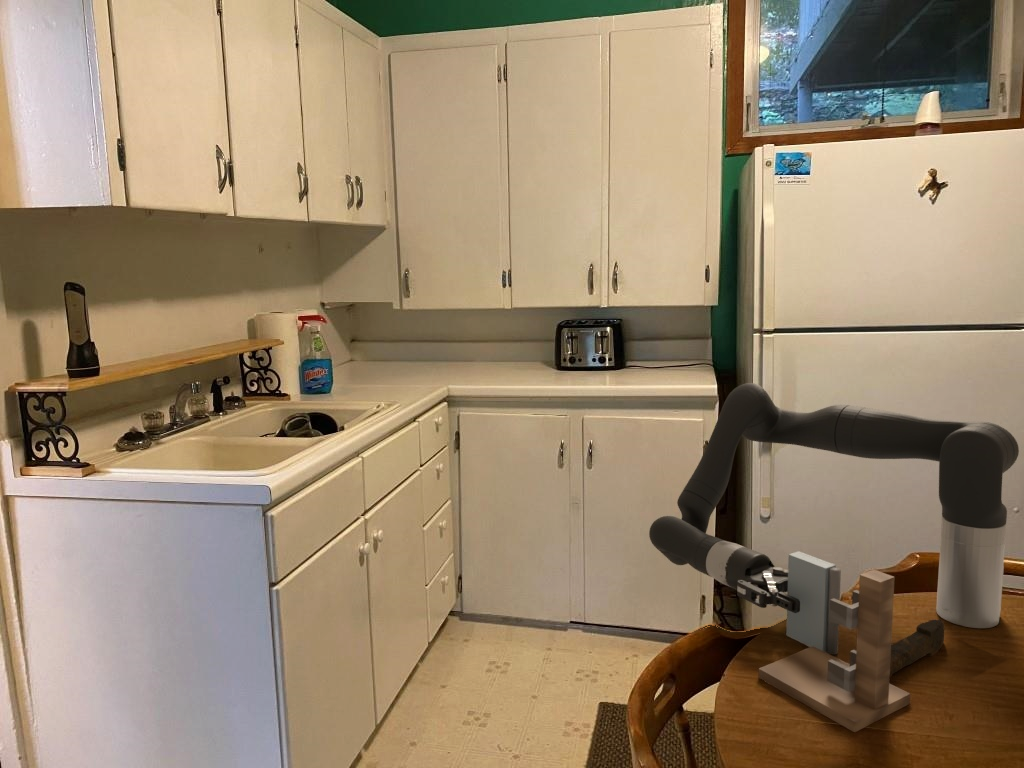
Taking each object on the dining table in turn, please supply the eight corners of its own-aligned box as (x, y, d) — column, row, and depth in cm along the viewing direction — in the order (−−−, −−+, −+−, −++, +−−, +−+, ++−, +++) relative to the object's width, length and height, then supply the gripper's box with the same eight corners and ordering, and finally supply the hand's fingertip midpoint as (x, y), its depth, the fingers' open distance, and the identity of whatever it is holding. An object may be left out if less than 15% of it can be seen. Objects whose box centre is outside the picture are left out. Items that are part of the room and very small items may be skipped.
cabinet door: (796, 631, 128) (798, 551, 125) (841, 653, 120) (844, 568, 118) (786, 635, 126) (788, 554, 124) (831, 657, 119) (834, 571, 117)
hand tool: (885, 687, 111) (886, 657, 110) (860, 675, 114) (861, 646, 114) (960, 651, 120) (962, 623, 120) (935, 641, 124) (936, 614, 123)
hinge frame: (812, 655, 120) (816, 535, 117) (909, 703, 106) (917, 569, 103) (758, 677, 114) (761, 552, 111) (854, 732, 100) (860, 591, 97)
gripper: (766, 578, 140) (844, 611, 126) (708, 597, 133) (785, 634, 119) (767, 538, 138) (846, 567, 125) (709, 555, 131) (786, 588, 118)
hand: (816, 600), depth 122 cm, fingers open, 8 cm apart
